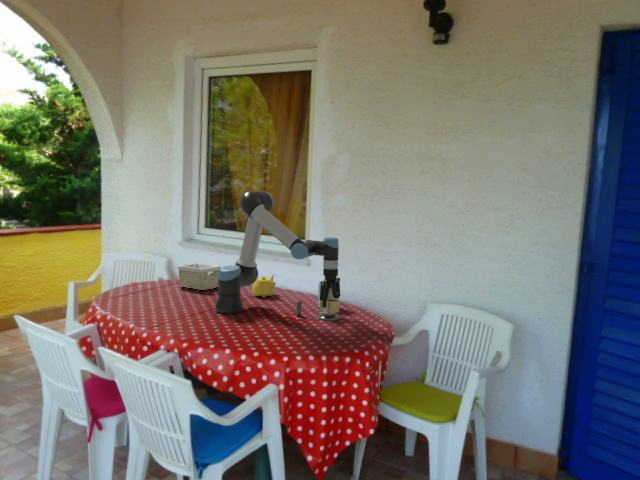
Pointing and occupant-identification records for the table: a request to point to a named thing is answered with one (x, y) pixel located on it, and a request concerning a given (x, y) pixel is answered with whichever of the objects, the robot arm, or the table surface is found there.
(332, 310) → the collar
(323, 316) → the hub
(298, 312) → the stand rod
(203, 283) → the storage basket
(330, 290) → the supplement tub
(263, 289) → the teapot
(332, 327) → the table surface
